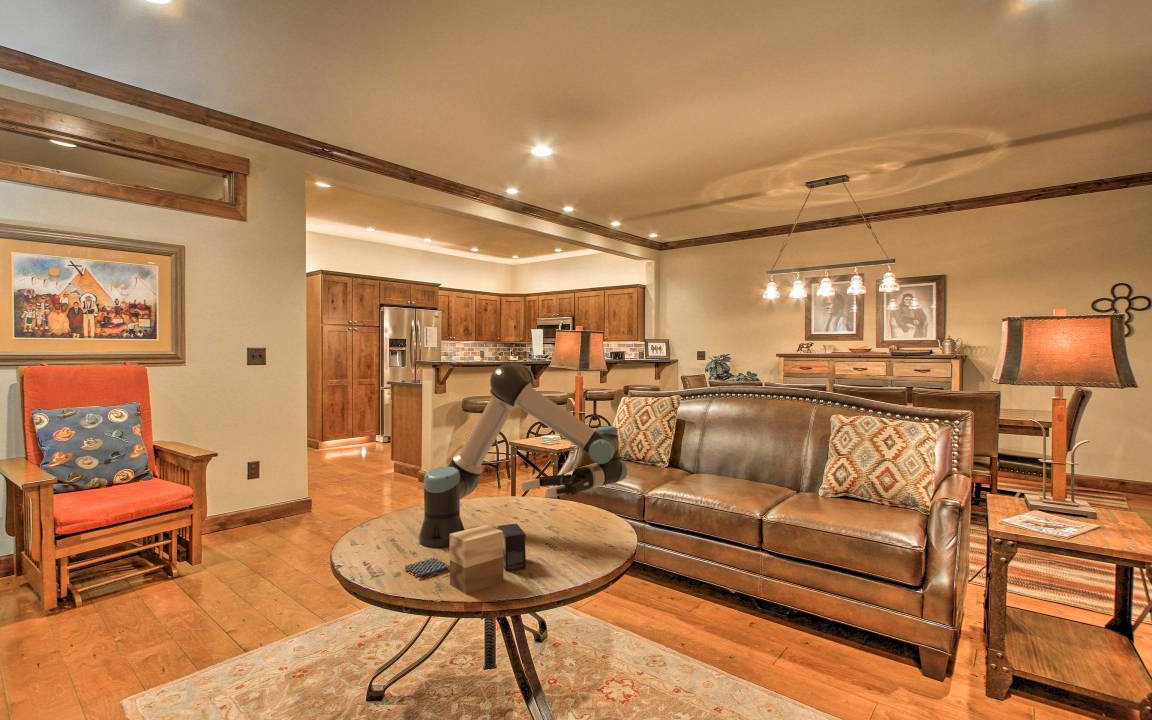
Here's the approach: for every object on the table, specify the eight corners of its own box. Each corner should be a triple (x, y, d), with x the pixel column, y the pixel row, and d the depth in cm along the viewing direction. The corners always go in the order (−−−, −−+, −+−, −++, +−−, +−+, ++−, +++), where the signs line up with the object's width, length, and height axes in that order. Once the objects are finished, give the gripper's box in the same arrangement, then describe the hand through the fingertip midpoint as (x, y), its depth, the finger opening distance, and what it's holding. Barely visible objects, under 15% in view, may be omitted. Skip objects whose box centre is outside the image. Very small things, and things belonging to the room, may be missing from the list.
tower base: (450, 585, 152) (449, 559, 152) (487, 573, 160) (487, 549, 160) (465, 594, 146) (465, 567, 146) (503, 581, 154) (503, 556, 154)
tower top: (449, 559, 152) (449, 533, 152) (487, 549, 160) (486, 524, 160) (465, 568, 146) (465, 541, 146) (503, 556, 154) (503, 531, 154)
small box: (496, 559, 171) (496, 525, 170) (517, 556, 173) (517, 522, 173) (504, 572, 161) (504, 535, 161) (526, 568, 163) (526, 533, 163)
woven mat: (434, 562, 169) (434, 555, 169) (453, 572, 161) (453, 565, 161) (402, 571, 162) (402, 564, 162) (419, 582, 154) (419, 575, 154)
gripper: (613, 494, 175) (558, 509, 162) (565, 483, 195) (513, 495, 182) (611, 471, 175) (557, 483, 162) (564, 462, 195) (511, 472, 182)
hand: (533, 490), depth 172 cm, fingers open, 13 cm apart
